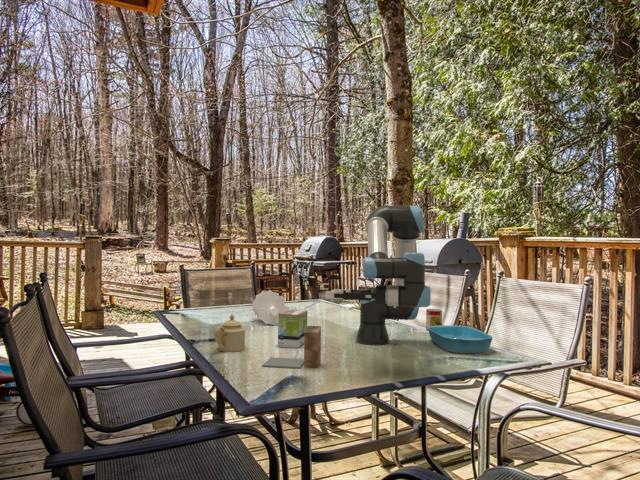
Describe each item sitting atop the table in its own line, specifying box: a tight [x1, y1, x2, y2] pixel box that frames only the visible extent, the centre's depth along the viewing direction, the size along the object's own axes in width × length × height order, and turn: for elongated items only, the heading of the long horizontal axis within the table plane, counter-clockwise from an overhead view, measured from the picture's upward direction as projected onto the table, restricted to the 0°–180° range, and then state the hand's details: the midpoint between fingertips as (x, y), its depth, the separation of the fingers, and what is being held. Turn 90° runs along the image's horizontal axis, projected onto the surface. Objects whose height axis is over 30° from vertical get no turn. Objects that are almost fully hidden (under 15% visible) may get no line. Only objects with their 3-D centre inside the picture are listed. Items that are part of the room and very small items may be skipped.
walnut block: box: [303, 325, 322, 369], centre depth 176 cm, size 5×7×14 cm
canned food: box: [425, 308, 443, 331], centre depth 242 cm, size 8×8×12 cm
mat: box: [261, 357, 304, 370], centre depth 177 cm, size 14×12×1 cm
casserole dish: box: [428, 324, 494, 354], centre depth 211 cm, size 37×22×7 cm, turn 4°
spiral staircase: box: [252, 289, 290, 326], centre depth 268 cm, size 18×18×25 cm
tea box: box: [277, 309, 308, 349], centre depth 212 cm, size 15×10×15 cm, turn 168°
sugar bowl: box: [213, 313, 246, 353], centre depth 198 cm, size 15×11×15 cm
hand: (329, 293), depth 176 cm, fingers open, 13 cm apart
